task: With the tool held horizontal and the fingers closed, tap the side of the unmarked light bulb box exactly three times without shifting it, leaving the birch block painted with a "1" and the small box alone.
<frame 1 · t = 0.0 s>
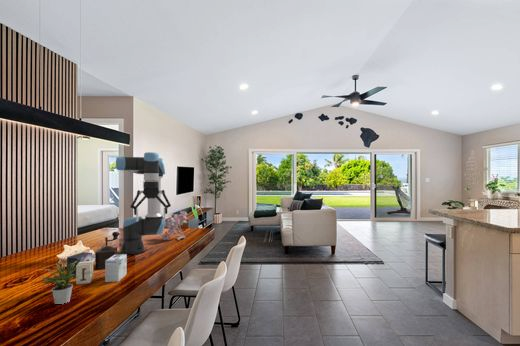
hand: (151, 220, 154), 28 cm above the table, tool pointing down, fingers open, 13 cm apart
manual coffee grinder: (107, 264, 167), on the table
light bulb box: (116, 278, 145), on the table
numbered block: (84, 281, 141), on the table
flower: (172, 240, 231), on the table
small box: (79, 274, 150), on the table
house plant: (63, 301, 119), on the table
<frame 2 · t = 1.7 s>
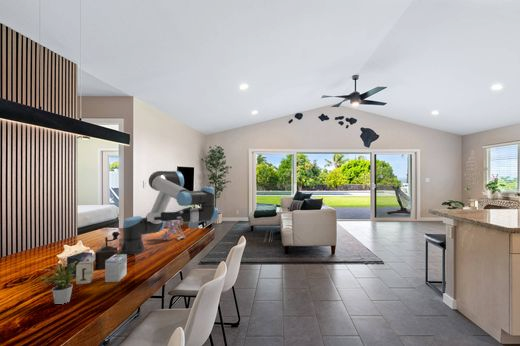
hand: (147, 217, 152), 30 cm above the table, tool horizontal, fingers open, 10 cm apart
nothing on the table moved.
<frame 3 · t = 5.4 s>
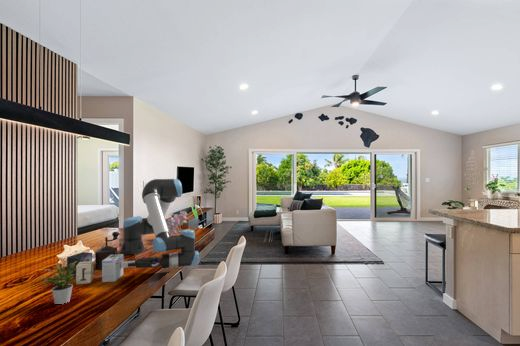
hand: (121, 264, 146), 6 cm above the table, tool horizontal, fingers closed
light bulb box: (113, 278, 145), on the table, touching gripper
everything else where it was.
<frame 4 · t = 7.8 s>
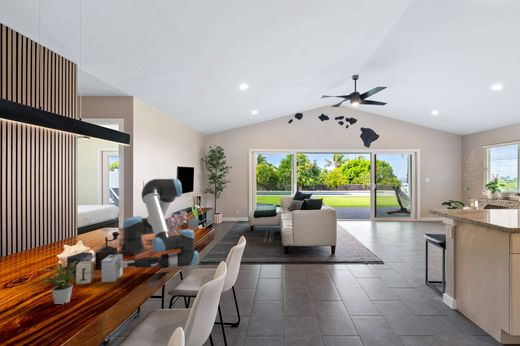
hand: (120, 264, 146), 7 cm above the table, tool horizontal, fingers closed
light bulb box: (112, 278, 145), on the table, touching gripper
everything else where it was.
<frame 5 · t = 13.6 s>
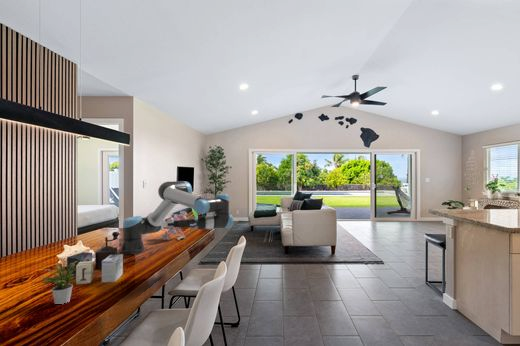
hand: (160, 224, 153), 26 cm above the table, tool horizontal, fingers closed
light bulb box: (112, 278, 145), on the table
everything else where it was.
at the end: light bulb box moved 1.7 cm from its start; light bulb box tilted 0°; numbered block moved 0.1 cm from its start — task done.
